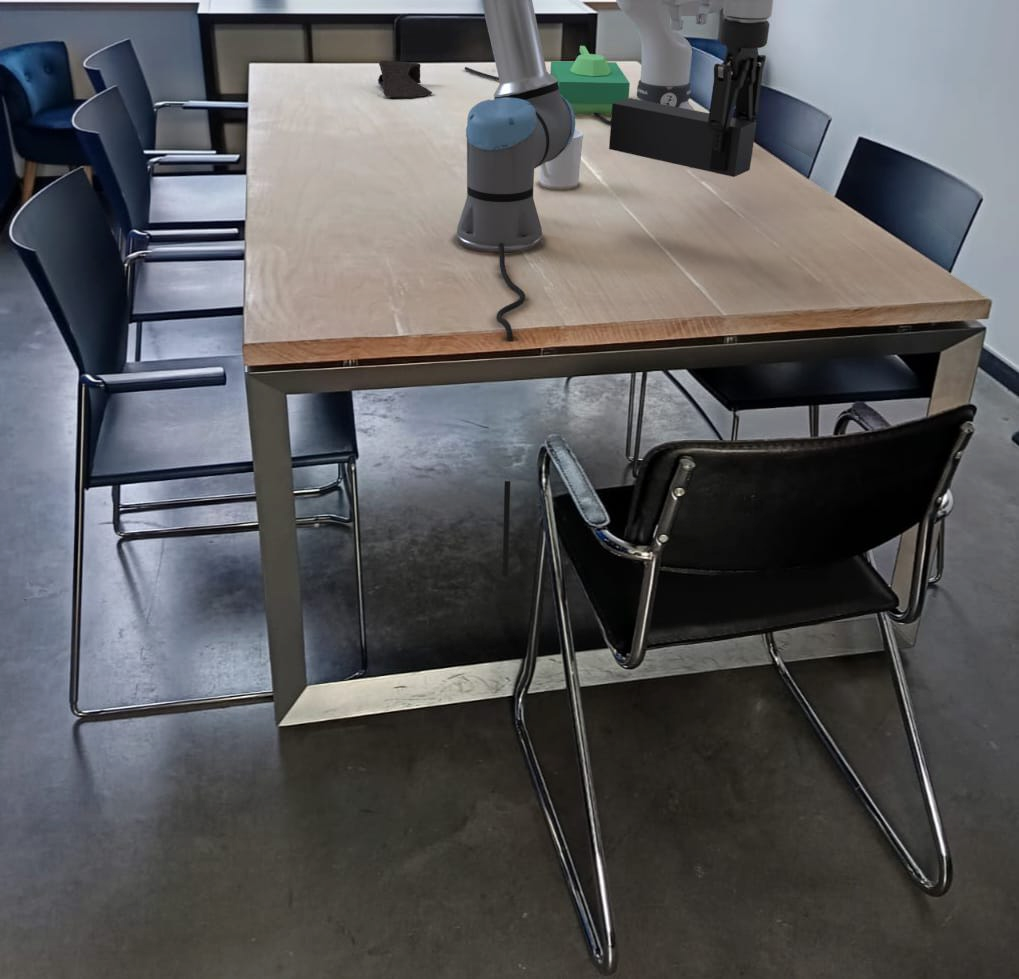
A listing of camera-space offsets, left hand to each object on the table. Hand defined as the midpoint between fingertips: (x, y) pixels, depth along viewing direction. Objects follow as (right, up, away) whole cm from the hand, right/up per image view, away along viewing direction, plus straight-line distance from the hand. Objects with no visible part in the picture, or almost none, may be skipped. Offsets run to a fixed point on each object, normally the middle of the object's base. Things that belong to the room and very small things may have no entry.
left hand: (727, 165), depth 185 cm
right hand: (-3, +33, +23) cm, 41 cm away
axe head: (-66, +55, +115) cm, 144 cm away
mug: (-27, +8, +41) cm, 50 cm away
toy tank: (-17, +49, +107) cm, 119 cm away
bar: (-8, +3, +5) cm, 10 cm away
